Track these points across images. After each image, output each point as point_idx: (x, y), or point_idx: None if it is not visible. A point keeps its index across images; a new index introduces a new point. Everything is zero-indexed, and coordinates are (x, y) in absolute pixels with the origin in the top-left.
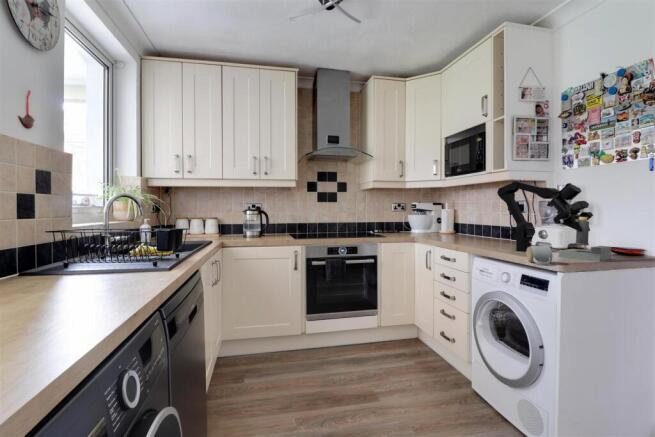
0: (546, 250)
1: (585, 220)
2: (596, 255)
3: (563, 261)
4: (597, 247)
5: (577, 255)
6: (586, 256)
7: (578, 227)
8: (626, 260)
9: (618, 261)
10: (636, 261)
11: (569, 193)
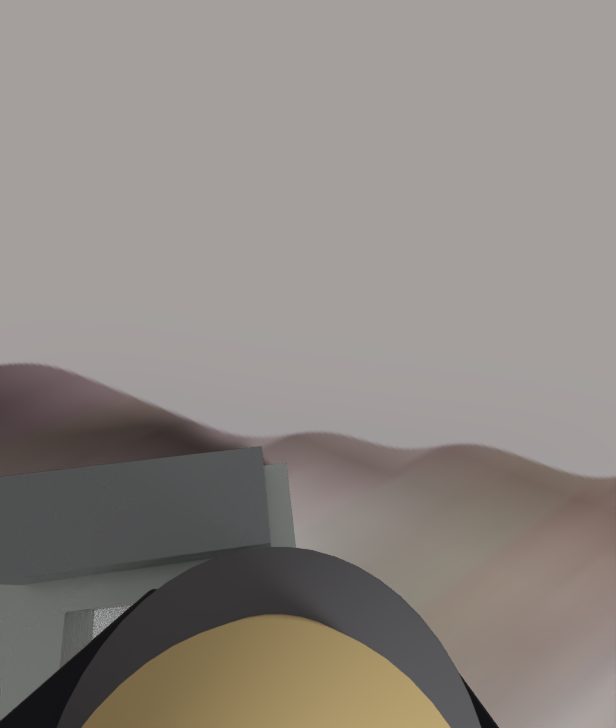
0: None
1: (336, 626)
2: (287, 490)
3: (597, 607)
4: (248, 484)
5: None
6: None
7: None
8: (14, 422)
9: (140, 419)
10: (15, 368)
11: None
